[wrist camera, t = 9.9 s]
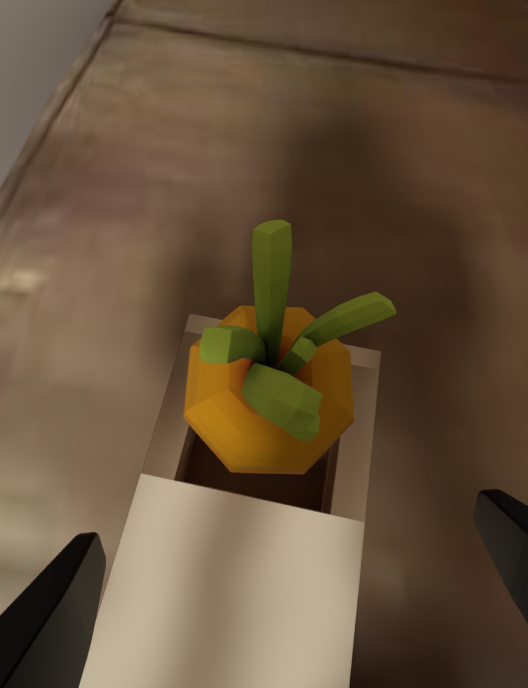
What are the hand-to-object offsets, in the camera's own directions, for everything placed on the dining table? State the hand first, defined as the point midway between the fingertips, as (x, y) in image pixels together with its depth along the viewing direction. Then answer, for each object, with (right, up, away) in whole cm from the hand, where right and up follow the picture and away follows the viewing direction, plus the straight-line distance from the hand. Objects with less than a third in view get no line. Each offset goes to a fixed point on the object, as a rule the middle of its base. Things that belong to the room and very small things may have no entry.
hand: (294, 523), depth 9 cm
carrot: (-1, 0, +11) cm, 11 cm away
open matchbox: (-2, -4, +10) cm, 11 cm away
